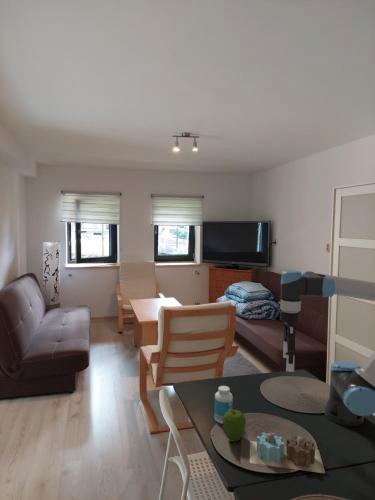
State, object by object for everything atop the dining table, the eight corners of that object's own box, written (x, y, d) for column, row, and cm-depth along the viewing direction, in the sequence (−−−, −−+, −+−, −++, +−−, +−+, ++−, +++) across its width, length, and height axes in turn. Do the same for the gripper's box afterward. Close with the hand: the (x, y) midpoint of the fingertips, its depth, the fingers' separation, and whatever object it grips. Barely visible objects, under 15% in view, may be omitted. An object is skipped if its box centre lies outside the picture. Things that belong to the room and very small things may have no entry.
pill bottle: (231, 425, 139) (232, 393, 138) (213, 423, 140) (213, 391, 139) (232, 415, 146) (233, 385, 145) (215, 413, 148) (216, 383, 147)
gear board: (318, 453, 123) (319, 430, 122) (325, 477, 111) (326, 452, 110) (249, 444, 127) (250, 422, 127) (249, 467, 115) (250, 442, 115)
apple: (229, 449, 124) (230, 419, 123) (218, 436, 132) (218, 407, 131) (249, 444, 128) (250, 414, 127) (237, 431, 135) (238, 403, 134)
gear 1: (255, 445, 124) (255, 432, 124) (279, 445, 124) (280, 432, 124) (259, 462, 116) (260, 448, 115) (286, 463, 115) (287, 448, 115)
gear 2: (311, 451, 122) (312, 437, 121) (316, 468, 113) (317, 454, 112) (285, 447, 123) (286, 434, 123) (288, 464, 114) (288, 450, 114)
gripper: (277, 303, 146) (276, 351, 148) (282, 318, 122) (280, 377, 123) (296, 304, 145) (294, 353, 146) (305, 320, 120) (302, 379, 122)
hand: (288, 364), depth 135 cm, fingers open, 13 cm apart
